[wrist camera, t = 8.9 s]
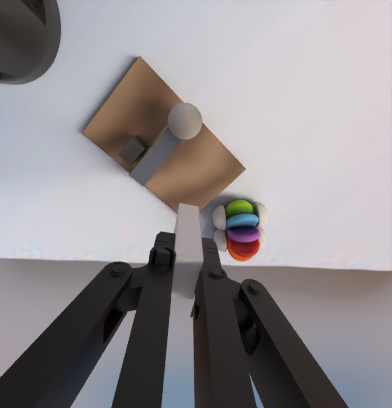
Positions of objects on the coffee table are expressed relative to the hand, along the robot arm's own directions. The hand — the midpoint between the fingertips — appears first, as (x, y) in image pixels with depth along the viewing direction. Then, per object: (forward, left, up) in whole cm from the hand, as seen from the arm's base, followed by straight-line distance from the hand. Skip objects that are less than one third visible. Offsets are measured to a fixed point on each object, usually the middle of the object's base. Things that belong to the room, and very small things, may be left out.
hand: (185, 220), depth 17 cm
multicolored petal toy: (+12, -1, -17) cm, 21 cm away
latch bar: (-5, -1, -16) cm, 16 cm away
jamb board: (-4, 0, -17) cm, 17 cm away
